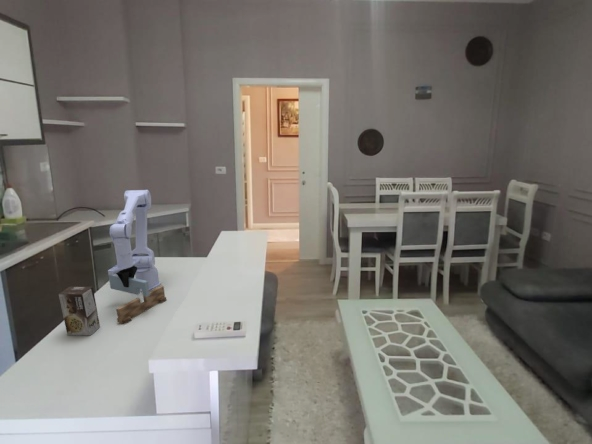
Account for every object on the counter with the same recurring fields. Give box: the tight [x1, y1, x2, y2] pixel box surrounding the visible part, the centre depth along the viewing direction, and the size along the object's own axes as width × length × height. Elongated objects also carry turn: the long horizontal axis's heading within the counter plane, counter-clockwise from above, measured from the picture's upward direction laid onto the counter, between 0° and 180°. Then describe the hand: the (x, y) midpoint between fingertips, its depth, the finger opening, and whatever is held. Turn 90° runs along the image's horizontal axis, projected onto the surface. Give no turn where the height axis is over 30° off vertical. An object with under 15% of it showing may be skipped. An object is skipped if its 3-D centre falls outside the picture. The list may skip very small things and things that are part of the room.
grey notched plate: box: [108, 273, 150, 297], centre depth 153 cm, size 20×2×6 cm, turn 64°
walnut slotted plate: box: [115, 285, 167, 325], centre depth 152 cm, size 22×4×6 cm, turn 153°
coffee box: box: [58, 285, 101, 336], centre depth 137 cm, size 9×6×16 cm
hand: (128, 285), depth 153 cm, fingers closed on grey notched plate, 2 cm apart
